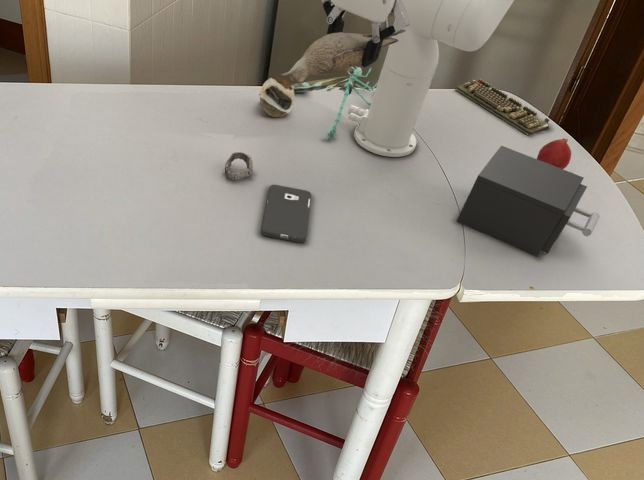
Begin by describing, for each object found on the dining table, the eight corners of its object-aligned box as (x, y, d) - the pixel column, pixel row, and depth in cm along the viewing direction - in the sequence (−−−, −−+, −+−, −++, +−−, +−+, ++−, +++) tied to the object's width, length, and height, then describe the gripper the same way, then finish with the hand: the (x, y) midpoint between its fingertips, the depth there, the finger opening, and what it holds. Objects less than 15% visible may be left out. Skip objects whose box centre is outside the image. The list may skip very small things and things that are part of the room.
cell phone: (306, 239, 115) (305, 244, 116) (312, 190, 125) (310, 195, 126) (261, 230, 116) (260, 235, 116) (270, 182, 125) (269, 187, 126)
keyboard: (453, 89, 159) (456, 81, 157) (480, 82, 162) (483, 73, 161) (527, 136, 147) (531, 127, 145) (554, 127, 150) (559, 118, 149)
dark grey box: (556, 222, 126) (584, 177, 119) (537, 257, 119) (565, 210, 112) (479, 190, 131) (501, 145, 124) (456, 221, 124) (478, 175, 117)
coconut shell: (293, 118, 145) (277, 114, 150) (299, 78, 141) (283, 76, 147) (260, 116, 141) (245, 112, 147) (266, 76, 138) (250, 73, 143)
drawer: (588, 232, 123) (612, 196, 117) (571, 264, 117) (596, 227, 111) (492, 192, 129) (511, 156, 123) (471, 221, 123) (490, 184, 117)
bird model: (265, 50, 99) (262, 83, 103) (294, 64, 96) (290, 98, 100) (395, -1, 111) (388, 30, 115) (424, 10, 108) (416, 42, 112)
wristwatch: (234, 159, 131) (258, 167, 129) (220, 180, 128) (244, 188, 127) (235, 144, 128) (259, 152, 127) (220, 165, 125) (245, 174, 124)
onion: (528, 175, 136) (547, 139, 130) (532, 162, 140) (551, 126, 134) (558, 185, 135) (579, 149, 129) (561, 171, 138) (582, 135, 132)
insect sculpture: (266, 140, 143) (296, 72, 162) (361, 155, 139) (381, 83, 157) (268, 114, 139) (298, 47, 157) (366, 128, 134) (386, 57, 152)
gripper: (452, -59, 93) (408, 69, 106) (345, -94, 100) (317, 30, 113) (426, -47, 89) (384, 85, 102) (316, -85, 96) (291, 43, 109)
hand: (349, 55), depth 108 cm, fingers closed on bird model, 6 cm apart
